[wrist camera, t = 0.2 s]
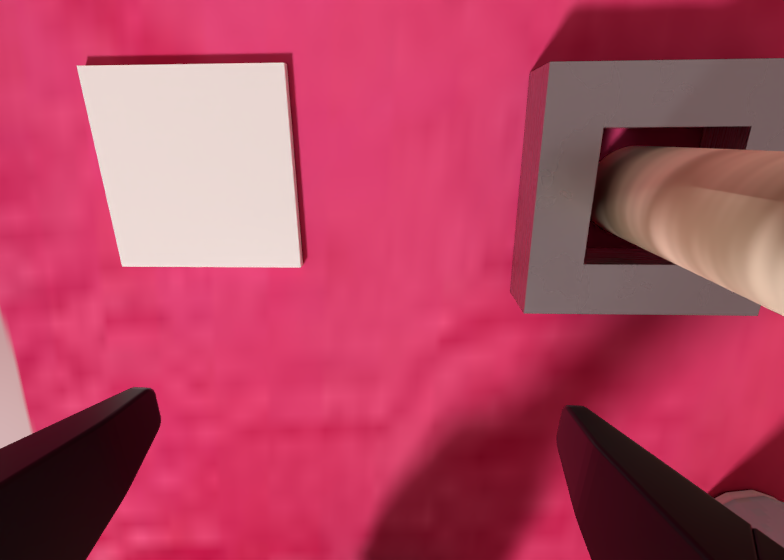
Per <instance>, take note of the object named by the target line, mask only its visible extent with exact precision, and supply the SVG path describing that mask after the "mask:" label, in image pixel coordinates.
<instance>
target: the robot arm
mask: <svg viewBox="0 0 784 560" xmlns="http://www.w3.org/2000/svg"><path fill="white" fill-rule="evenodd" d="M160 423H161V416H160V412H159V407H158V403H157V399H156V394H155V392H154V390H153V389H151V388H143V387H133V388H130V389H128V390H126V391H123V392H121V393H119V394H117V395H115V396H113V397H110V398H108V399H106V400H104V401H102V402H100V403H98V404H95V405H93V406H91V407H89V408H87V409H85V410H83V411H80V412H78V413H76V414H74V415H72V416H70V417H67V418H65V419H63V420H61V421H59V422H57V423H55V424H52V425H50V426H48V427H46V428H44V429H42V430H40V431H37V432H35V433H33V434H31V435H29V436H27V437H24V438H22V439H20V440H18V441H16V442H14V443H12V444H9V445H7V446H5V447H3V448H1V449H0V560H86V559H87V557H88V555H89V554H90V552H91V551H92V549H93V547H94V546H95V544H96V542H97V541H98V539H99V538H100V536H101V534H102V533H103V531H104V530H105V528H106V526H107V525H108V523H109V522H110V520H111V518H112V517H113V515H114V513H115V512H116V510H117V509H118V507H119V505H120V504H121V502H122V500H123V499H124V497H125V495H126V494H127V492H128V490H129V488H130V486H131V484H132V482H133V480H134V478H135V476H136V474H137V472H138V470H139V468H140V466H141V464H142V462H143V460H144V458H145V456H146V454H147V452H148V450H149V448H150V446H151V444H152V442H153V440H154V438H155V436H156V434H157V432H158V430H159V427H160ZM557 448H558V451H559V455H560V459H561V463H562V467H563V471H564V475H565V478H566V482H567V486H568V490H569V494H570V498H571V502H572V505H573V509H574V512H575V516H576V519H577V522H578V525H579V527H580V530H581V533H582V535H583V538H584V541H585V543H586V546H587V549H588V551H589V554H590V557H591V559H592V560H784V547H782V546H781V545H779V544H778V543H777V542H775V541H774V540H772V539H771V538H770V537H768V536H767V535H765V534H764V533H763V532H761V531H760V530H758V529H757V528H752V526H751V524H750V523H748V522H747V521H745V520H744V519H743V518H741V517H740V516H738V515H737V514H736V513H734V512H733V511H731V510H730V509H729V508H727V507H726V506H724V505H723V504H722V503H720V502H719V501H717V500H716V499H714V498H713V497H712V496H710V495H709V494H707V493H706V492H705V491H703V490H702V489H700V488H699V487H698V486H696V485H695V484H693V483H692V482H691V481H689V480H688V479H686V478H685V477H683V476H682V475H681V474H679V473H678V472H676V471H675V470H674V469H672V468H671V467H669V466H668V465H667V464H665V463H664V462H662V461H661V460H660V459H658V458H657V457H655V456H654V455H652V454H651V453H650V452H648V451H647V450H645V449H644V448H643V447H641V446H640V445H638V444H637V443H636V442H634V441H633V440H631V439H630V438H629V437H627V436H626V435H624V434H623V433H621V432H620V431H619V430H617V429H616V428H614V427H613V426H612V425H610V424H609V423H607V422H606V421H605V420H603V419H602V418H600V417H599V416H598V415H596V414H595V413H593V412H592V411H590V410H589V409H588V408H586V407H584V406H574V405H566V406H565V407H563V409H562V412H561V417H560V422H559V427H558V431H557Z"/></svg>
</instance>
